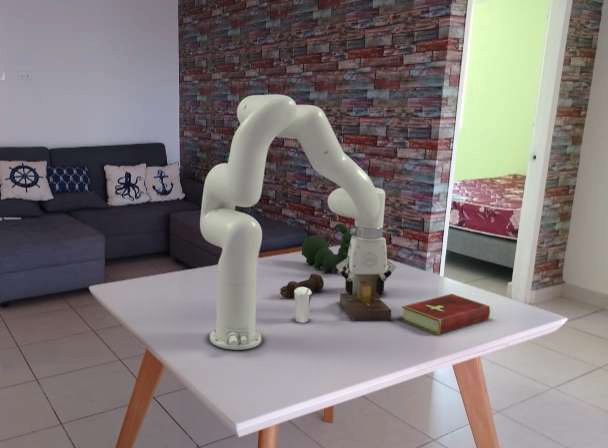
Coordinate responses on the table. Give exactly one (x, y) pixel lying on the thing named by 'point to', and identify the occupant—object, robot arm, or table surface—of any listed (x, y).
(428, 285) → the table surface
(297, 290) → the milkshake
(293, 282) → the bolt
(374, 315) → the lock plate
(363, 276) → the pillar candle
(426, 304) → the hardcover book
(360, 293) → the thumbturn
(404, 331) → the table surface
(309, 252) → the toy figurine
